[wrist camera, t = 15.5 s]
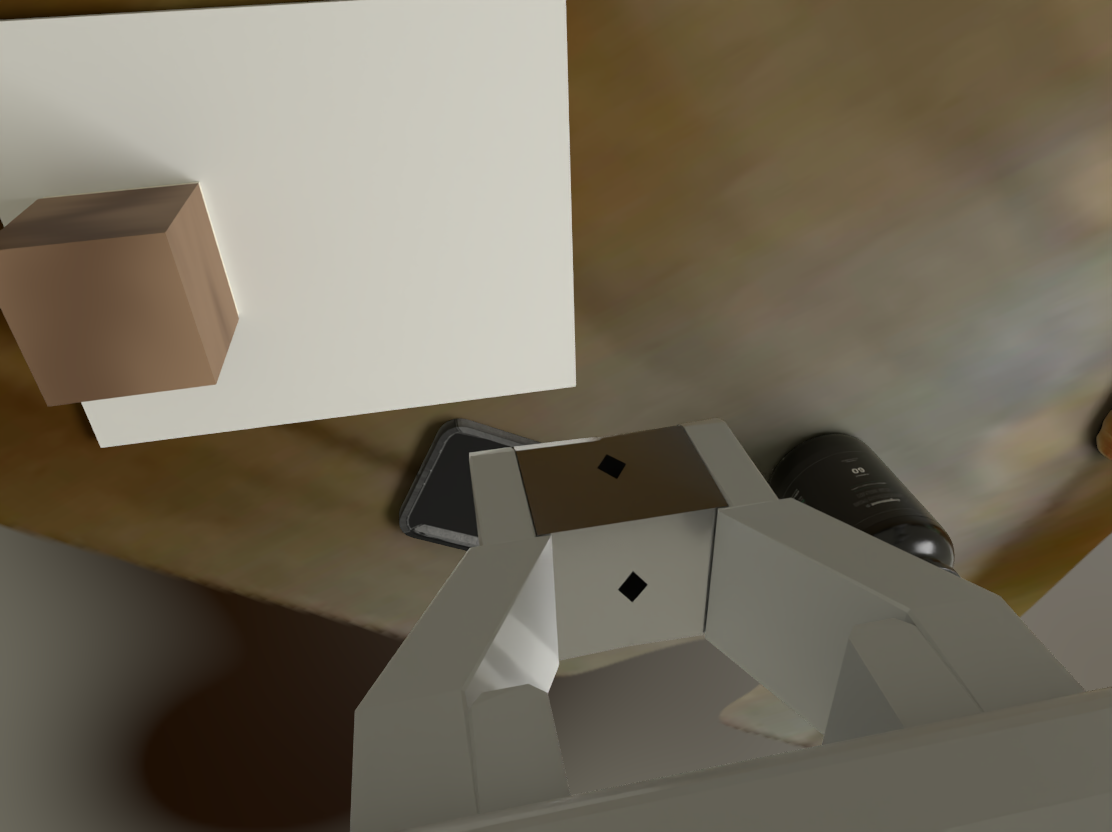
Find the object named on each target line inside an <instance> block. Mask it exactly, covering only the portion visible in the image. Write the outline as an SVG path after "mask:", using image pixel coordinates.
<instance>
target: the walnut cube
mask: <svg viewBox="0 0 1112 832" xmlns="http://www.w3.org/2000/svg"><path fill="white" fill-rule="evenodd" d="M0 308H1V310H2V312H3V314H4V316H5V318H6V320H7V323H8V325H9V327H10V329H11V331H12V333H13V335H14V337H15V339H16V341H17V343H18V345H19V347H20V350H21V352H22V354H23V356H24V358H25V360H26V362H27V364H28V366H29V368H30V370H31V372H32V374H33V376H34V379H35V381H36V383H37V385H38V387H39V389H40V391H41V393H42V395H43V397H44V399H45V401H46V403H47V406H56V405H63V404H71V403H79V402H86V401H94V400H102V399H109V398H117V397H125V396H132V395H140V394H148V393H155V392H163V391H171V390H178V389H186V388H194V387H201V386H209V385H216V384H217V381H218V378H219V375H220V372H221V369H222V366H223V364H224V361H225V358H226V355H227V352H228V349H229V346H230V343H231V341H232V338H233V335H234V332H235V329H236V326H237V323H238V321H239V317H238V315H239V312H238V309H237V306H236V302H235V299H234V296H233V292H232V289H231V286H230V282H229V279H228V276H227V272H226V269H225V266H224V262H223V259H222V256H221V252H220V249H219V245H218V242H217V239H216V235H215V232H214V229H213V225H212V222H211V219H210V215H209V212H208V209H207V205H206V202H205V199H204V195H203V192H202V189H201V185H200V182H191V183H180V184H170V185H160V186H150V187H140V188H130V189H119V190H109V191H99V192H89V193H79V194H68V195H58V196H48V197H43V198H42V199H37V200H36V201H35V202H34V203H33V204H31V205H30V206H29V207H28V208H27V209H25V210H24V211H23V212H22V213H21V214H19V215H18V216H17V217H16V218H15V219H13V220H12V221H11V222H10V223H9V224H7V225H6V226H5V227H4V228H3V229H1V230H0Z"/></svg>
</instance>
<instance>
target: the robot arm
mask: <svg viewBox="0 0 1112 832" xmlns="http://www.w3.org/2000/svg"><path fill="white" fill-rule="evenodd" d="M469 464H470V472H471V480H472V488H473V497H474V505H475V513H476V521H477V530H478V538H479V546H477V547H471V548H469V550H468V551H467V552H466V554H465V555H464V557H463V558H462V560H461V561H460V562H459V564H458V565H457V567H456V568H455V569H454V571H453V572H452V574H451V575H450V577H449V578H448V579H447V581H446V582H445V584H444V585H443V587H442V588H441V589H440V591H439V592H438V594H437V595H436V596H435V598H434V599H433V601H432V602H431V604H430V605H429V606H428V608H427V609H426V611H425V612H424V614H423V615H422V616H421V618H420V619H419V621H418V622H417V623H416V625H415V626H414V628H413V629H412V631H411V632H410V633H409V635H408V636H407V638H406V639H405V641H404V642H403V643H402V645H401V646H400V648H399V649H398V650H397V652H396V654H395V655H394V656H393V658H392V659H391V661H390V662H389V663H388V665H387V666H386V668H385V669H384V670H383V672H382V673H381V675H380V676H379V678H378V679H377V680H376V682H375V683H374V685H373V686H372V687H371V689H370V690H369V692H368V693H367V695H366V696H365V697H364V699H363V700H362V702H361V703H360V705H359V706H358V707H357V709H356V710H355V723H354V725H355V726H354V747H353V773H352V798H351V822H350V832H1112V687H1107V688H1102V689H1097V690H1092V691H1087V692H1086V691H1085V690H1084V688H1083V687H1082V686H1081V685H1080V684H1079V683H1078V682H1077V681H1076V680H1075V679H1074V677H1073V676H1072V675H1071V674H1070V673H1069V672H1068V671H1067V670H1066V669H1065V667H1064V666H1063V665H1062V664H1061V663H1060V662H1059V661H1058V660H1057V659H1056V658H1055V656H1054V655H1053V654H1052V653H1051V652H1050V651H1049V650H1048V649H1047V648H1046V647H1045V645H1044V644H1043V643H1042V642H1041V641H1040V640H1039V639H1038V638H1037V637H1036V635H1034V633H1033V632H1032V631H1031V630H1030V629H1029V628H1028V627H1027V625H1026V624H1025V623H1024V622H1023V621H1022V620H1021V619H1020V618H1019V617H1018V616H1017V614H1016V613H1015V612H1014V611H1013V610H1012V609H1011V608H1010V607H1009V606H1008V604H1007V603H1006V602H1005V601H1004V600H1003V599H1002V598H1001V597H1000V596H998V595H996V594H994V593H992V592H990V591H988V590H986V589H984V588H981V587H979V586H977V585H975V584H973V583H971V582H969V581H967V580H965V579H962V578H960V577H958V576H956V575H954V574H952V573H950V572H948V571H945V570H943V569H941V568H939V567H937V566H935V565H933V564H931V563H928V562H926V561H924V560H922V559H920V558H918V557H916V556H914V555H912V554H909V553H907V552H905V551H903V550H901V549H899V548H897V547H895V546H892V545H890V544H888V543H886V542H884V541H882V540H880V539H878V538H875V537H873V536H871V535H869V534H867V533H865V532H863V531H861V530H859V529H856V528H854V527H852V526H850V525H848V524H846V523H844V522H842V521H839V520H837V519H835V518H833V517H831V516H829V515H827V514H825V513H822V512H820V511H818V510H816V509H814V508H812V507H810V506H808V505H806V504H803V503H801V502H799V501H797V500H795V499H793V498H786V499H778V498H777V496H776V495H775V493H774V492H773V490H772V489H771V487H770V486H769V485H768V483H767V482H766V480H765V479H764V477H763V476H762V474H761V473H760V472H759V470H758V469H757V467H756V466H755V464H754V463H753V461H752V460H751V459H750V457H749V456H748V454H747V453H746V451H745V450H744V448H743V447H742V446H741V444H740V443H739V441H738V440H737V438H736V437H735V435H734V434H733V433H732V431H731V430H730V428H729V427H728V425H727V424H726V422H725V421H723V420H721V419H719V418H712V419H707V420H701V421H695V422H689V423H683V424H678V425H677V426H671V427H665V428H658V429H652V430H645V431H638V432H632V433H625V434H619V435H612V436H605V437H599V438H598V437H591V438H583V439H574V440H566V441H557V442H549V443H540V444H532V445H523V446H515V447H513V449H512V448H511V447H507V448H499V449H492V450H485V451H478V452H471V453H469ZM699 635H705V639H707V640H708V641H709V642H710V643H712V644H713V645H714V646H715V647H716V648H718V649H719V650H720V651H721V652H723V653H724V654H725V655H726V656H727V657H729V658H730V659H731V660H732V661H734V662H735V663H736V664H737V665H738V666H740V667H741V668H742V669H743V670H745V671H746V672H747V673H748V674H749V675H751V676H752V677H753V678H754V679H756V680H757V681H758V682H759V683H760V684H762V685H763V686H764V687H765V688H767V689H768V690H769V691H770V692H771V693H773V694H774V695H775V696H776V697H778V698H779V699H780V700H781V701H783V702H784V703H785V704H786V705H787V706H789V707H790V708H791V709H792V710H794V711H795V712H796V713H797V714H798V715H800V716H801V717H802V718H803V719H805V720H806V721H807V722H808V723H809V724H811V725H812V726H813V727H814V728H816V729H817V730H818V731H819V732H820V733H822V734H823V735H824V738H823V742H822V745H820V746H815V747H810V748H805V749H800V750H795V751H791V752H785V753H780V754H775V755H770V756H765V757H760V758H756V759H750V760H745V761H741V762H736V763H731V764H726V765H721V766H716V767H711V768H706V769H701V770H696V771H692V772H686V773H681V774H676V775H671V776H666V777H661V778H657V779H651V780H646V781H642V782H636V783H631V784H626V785H621V786H616V787H611V788H607V789H601V790H596V791H592V792H587V793H582V794H577V795H572V796H571V795H570V791H569V786H568V782H567V777H566V773H565V769H564V764H563V759H562V755H561V751H560V746H559V742H558V738H557V733H556V729H555V724H554V720H553V715H552V711H551V706H550V702H549V698H548V691H549V689H550V686H551V684H552V681H553V679H554V676H555V674H556V671H557V669H558V666H559V660H564V659H569V658H573V657H578V656H583V655H588V654H593V653H598V652H603V651H607V650H612V649H617V648H622V647H627V646H631V645H639V644H646V643H652V642H659V641H666V640H672V639H679V638H686V637H692V636H699Z"/></svg>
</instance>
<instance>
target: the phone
mask: <svg viewBox="0 0 1112 832" xmlns="http://www.w3.org/2000/svg"><path fill="white" fill-rule="evenodd" d="M434 442H435V443H434ZM532 444H540V442H537V441H534V440H531V439H528V438H524V437H521V436H518V435H515V434H512V433H509V432H505V431H502V430H499V429H496V428H493V427H489V426H486V425H483V424H480V423H477V422H474V421H470V420H467V419H453V420H450V421H448V422H446V423H445V424H444V425H442V426H441V428H440V429H439V430H438V432H437V434H436V436H435V438H434V441H433V443H432V445H431V447H430V449H429V451H428V453H427V455H426V457H425V459H424V461H423V463H422V465H421V467H420V469H419V471H418V473H417V475H416V477H415V479H414V482H413V484H412V486H411V488H410V490H409V492H408V494H407V496H406V498H405V500H404V502H403V504H402V506H401V508H400V512H399V524H400V528H401V530H402V531H403V532H404V533H405V534H406V535H408V536H410V537H413V538H417V539H421V540H425V541H429V542H433V543H437V544H441V545H445V546H449V547H454V548H458V549H462V550H466V551H468V550H469V548H471V547H477V546H479V538H478V530H477V521H476V513H475V505H474V497H473V488H472V480H471V472H470V464H469V453H471V452H478V451H485V450H492V449H499V448H507V447H511V448H512V449H513V447H515V446H523V445H532Z"/></svg>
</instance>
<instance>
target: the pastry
mask: <svg viewBox="0 0 1112 832" xmlns="http://www.w3.org/2000/svg"><path fill="white" fill-rule="evenodd" d="M1096 440H1097V448H1098V450H1099V451H1100V452H1101V453H1102V454H1103V455H1104V456H1105V457H1107V458H1108V459H1110V460H1111V461H1112V410H1111V411H1110V412H1109V414H1108V415H1107V416H1106V418H1105V419H1104V421H1103V425H1102V428H1101V430H1100V432H1099V434H1098V435H1097V438H1096Z"/></svg>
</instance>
